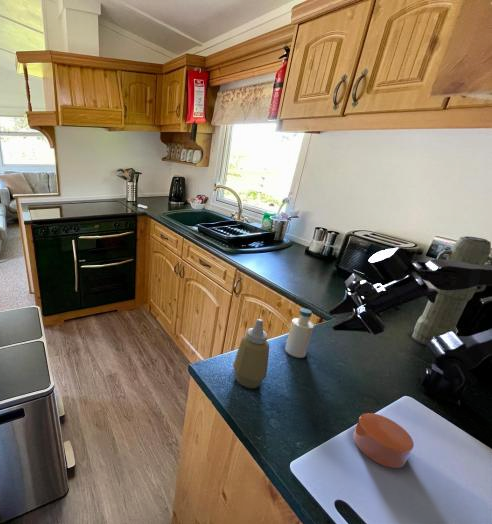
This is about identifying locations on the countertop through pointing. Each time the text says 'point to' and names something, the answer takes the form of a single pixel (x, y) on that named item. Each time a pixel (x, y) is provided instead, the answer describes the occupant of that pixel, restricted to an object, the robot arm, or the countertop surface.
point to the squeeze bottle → (252, 357)
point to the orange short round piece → (383, 440)
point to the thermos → (452, 292)
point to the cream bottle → (300, 334)
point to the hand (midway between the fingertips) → (331, 320)
